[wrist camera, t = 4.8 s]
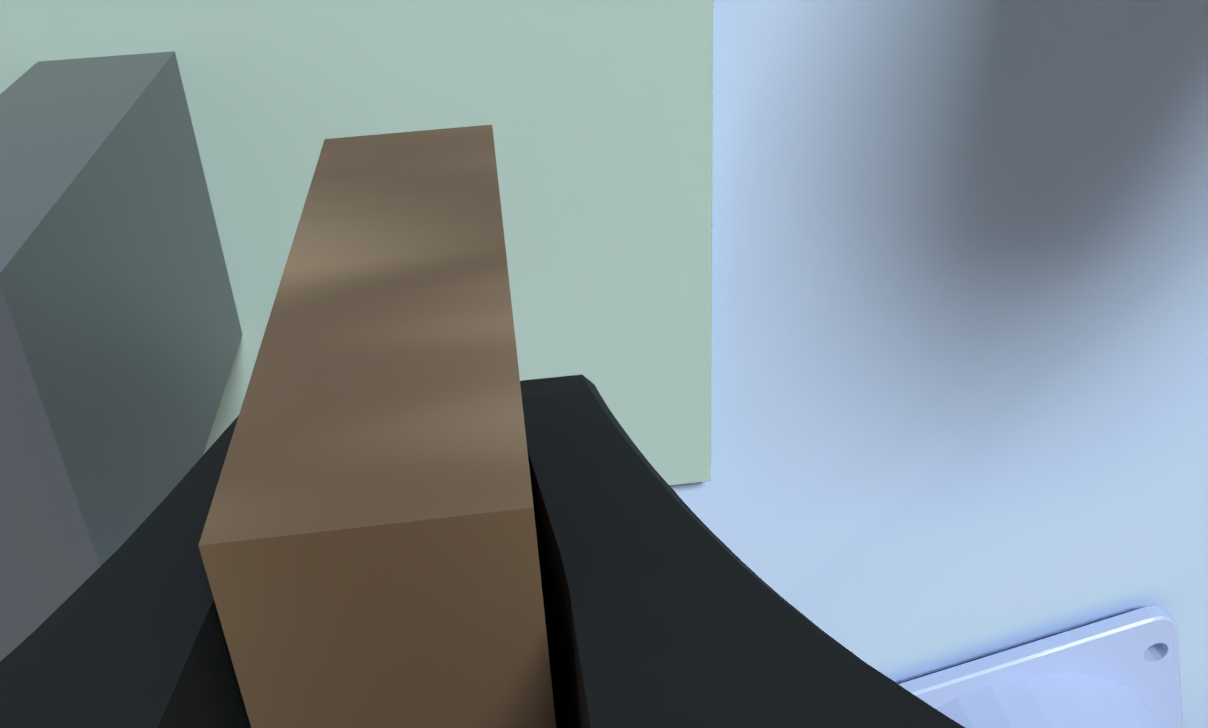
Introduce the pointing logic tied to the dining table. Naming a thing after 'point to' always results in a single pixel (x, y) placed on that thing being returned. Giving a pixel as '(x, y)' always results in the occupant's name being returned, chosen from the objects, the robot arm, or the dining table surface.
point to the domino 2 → (386, 460)
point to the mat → (522, 148)
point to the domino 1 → (100, 318)
